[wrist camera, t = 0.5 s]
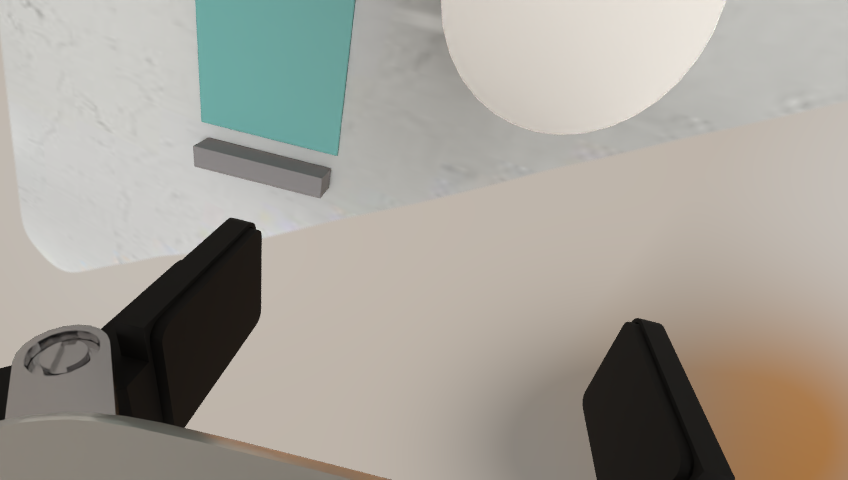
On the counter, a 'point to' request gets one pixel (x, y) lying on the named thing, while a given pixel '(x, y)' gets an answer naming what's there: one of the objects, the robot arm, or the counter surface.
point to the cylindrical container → (574, 56)
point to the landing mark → (275, 68)
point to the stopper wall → (262, 167)
